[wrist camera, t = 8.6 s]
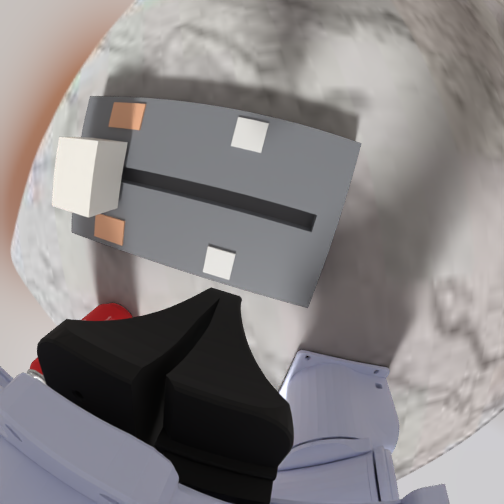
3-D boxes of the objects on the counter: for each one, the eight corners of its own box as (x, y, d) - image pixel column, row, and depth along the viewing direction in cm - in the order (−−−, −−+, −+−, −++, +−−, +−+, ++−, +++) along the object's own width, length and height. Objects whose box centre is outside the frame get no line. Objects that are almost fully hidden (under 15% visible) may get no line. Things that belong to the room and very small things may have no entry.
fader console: (354, 145, 18) (361, 143, 16) (307, 295, 22) (307, 309, 20) (104, 99, 19) (89, 96, 17) (84, 227, 23) (70, 232, 21)
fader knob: (137, 143, 19) (98, 140, 14) (127, 205, 20) (88, 217, 16) (99, 137, 19) (59, 136, 14) (91, 195, 21) (51, 205, 16)
